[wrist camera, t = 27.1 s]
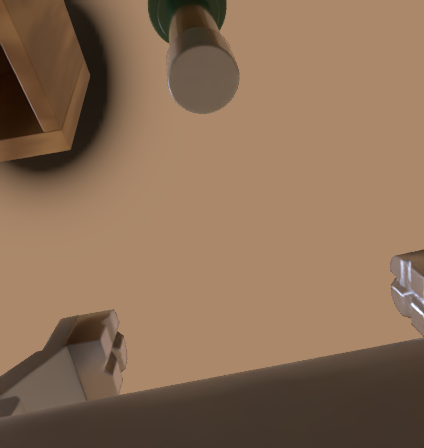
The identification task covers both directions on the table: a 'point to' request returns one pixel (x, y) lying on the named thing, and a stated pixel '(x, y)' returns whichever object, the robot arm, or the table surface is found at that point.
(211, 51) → the bottle
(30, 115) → the shelf
